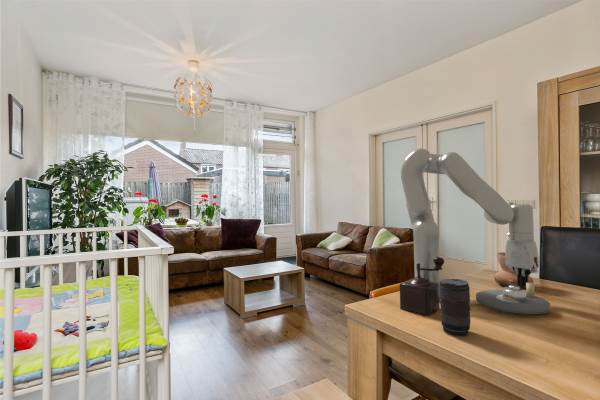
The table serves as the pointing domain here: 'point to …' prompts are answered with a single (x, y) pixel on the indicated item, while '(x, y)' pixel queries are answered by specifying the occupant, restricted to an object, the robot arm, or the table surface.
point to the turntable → (529, 307)
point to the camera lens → (455, 306)
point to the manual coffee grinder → (421, 292)
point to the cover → (514, 294)
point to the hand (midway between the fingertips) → (522, 285)
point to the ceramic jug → (507, 273)
